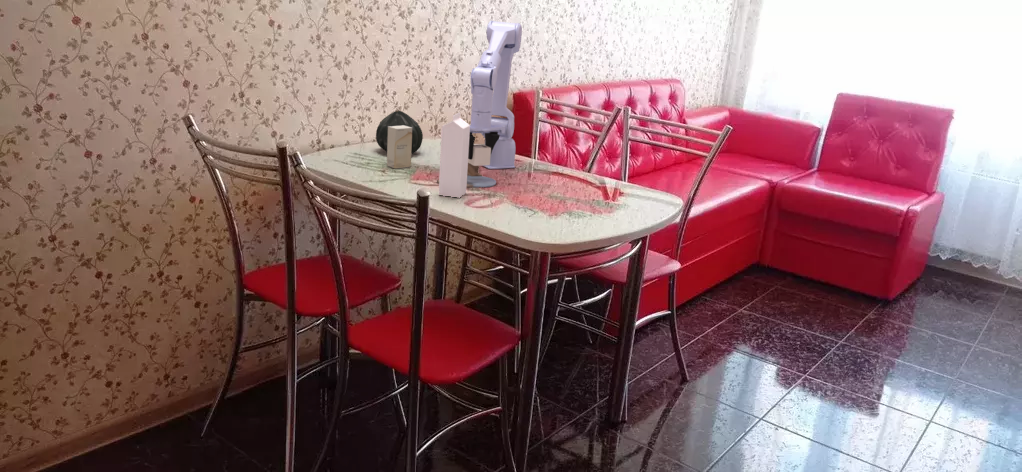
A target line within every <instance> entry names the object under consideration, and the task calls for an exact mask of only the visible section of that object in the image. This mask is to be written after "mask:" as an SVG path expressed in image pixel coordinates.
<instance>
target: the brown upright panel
mask: <svg viewBox="0 0 1022 472" xmlns="http://www.w3.org/2000/svg"><path fill="white" fill-rule="evenodd" d="M479 167H480V166H473V165H472V164H470V163H468V170H467V176H483V174H481V173H479Z"/></svg>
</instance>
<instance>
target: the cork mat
mask: <svg viewBox="0 0 1022 472" xmlns="http://www.w3.org/2000/svg"><path fill="white" fill-rule="evenodd" d="M468 182H469V181H468ZM436 183H437V184H439V179H438V180H436ZM470 183H471V182H470ZM473 185H474V184H468V183H467V187H466V189H468V188H470V189H471V188H474V187H473Z"/></svg>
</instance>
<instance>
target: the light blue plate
mask: <svg viewBox="0 0 1022 472" xmlns="http://www.w3.org/2000/svg"><path fill="white" fill-rule="evenodd" d="M468 181H469V182H468ZM470 182H471V183H470ZM467 183H468V184H474V185H473V187H472V188H479V187H481V189H482V187H483V189H484V187H485V188H491V187H495V186H496V185H497V180H495V179H494V178H492V177H489V176H484V175H482V176H467ZM494 185H495V186H494Z"/></svg>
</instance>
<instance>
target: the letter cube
mask: <svg viewBox="0 0 1022 472" xmlns="http://www.w3.org/2000/svg"><path fill="white" fill-rule="evenodd" d="M490 156H491V148H490V147H488V146H486V145H485V143H483V144H482V143H481V144H480V143H478V144H475V143H474V146H473V158H472V159H468V163H470V164H472V165H473V166H479V167H480V166H482V165H490ZM482 167H483V166H482Z"/></svg>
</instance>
